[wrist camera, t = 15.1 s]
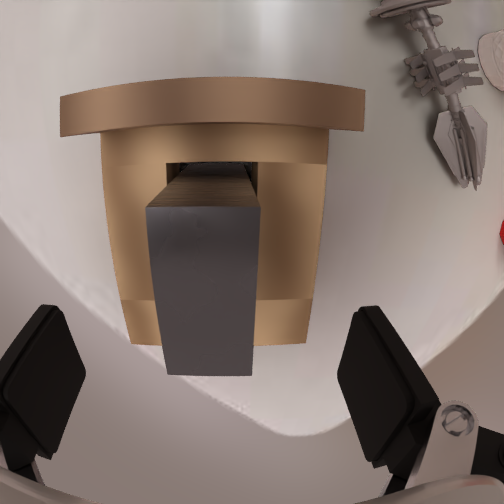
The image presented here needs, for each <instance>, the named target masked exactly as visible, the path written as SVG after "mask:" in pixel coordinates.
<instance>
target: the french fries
mask: <svg viewBox="0 0 504 504" xmlns="http://www.w3.org/2000/svg"><path fill="white" fill-rule="evenodd" d="M500 236H501V239H502V242H503V244H504V221H503V223H502V227H501V231H500Z"/></svg>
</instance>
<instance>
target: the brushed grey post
mask: <svg viewBox="0 0 504 504" xmlns="http://www.w3.org/2000/svg"><path fill="white" fill-rule="evenodd" d="M145 212H146V226H147V238H148V248H149V258H150V267H151V276H152V284H153V291H154V299H155V306H156V312H157V319H158V325H159V331H160V337H161V343H162V348H163V353H164V359H165V364H166V369H167V374H169V375H190V376H252V364H253V346H254V329H255V311H256V292H257V273H258V254H259V235H260V215H261V206H260V204H259V201H258V199H257V197H256V194H255V192H254V189H253V187H252V184H251V182H250V180H249V177H248V175H247V172H246V170H245V168H244V165H243V164H228V163H193V164H189V165H188V166H187V167H186V168H185V169H184V170H183V171H182V172H181V173H179V174H178V175H177V176H176V177H175V178H174V179H173V180H172V181H171V182H170V183H169V184H168V185H167V186H166V187H165V188H164V189H163V190H162V191H161V192H160V193H159V194H158V195H157V196H156V197H155V198H154V199H153V200H152V201H151V202H150V203H149V204H148V205H147V206H146V207H145Z"/></svg>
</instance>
